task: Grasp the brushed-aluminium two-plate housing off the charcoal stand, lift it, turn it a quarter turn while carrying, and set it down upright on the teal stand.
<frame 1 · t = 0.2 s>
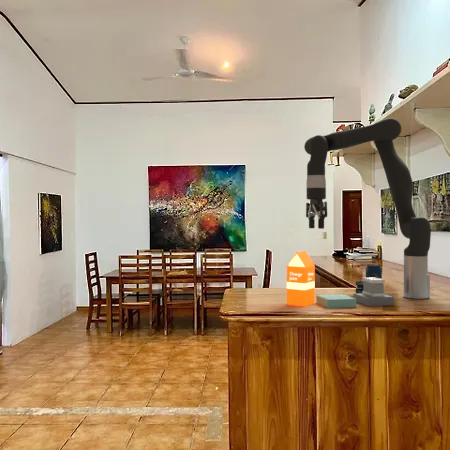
hand: (316, 228, 190), 29 cm above the countertop, fingers open, 8 cm apart
stand B: (335, 304, 182), on the countertop
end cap: (365, 297, 201), on the countertop
soda can: (373, 292, 215), on the countertop
housing: (373, 295, 186), point 3 cm above the countertop, touching stand A
orange juice: (300, 304, 184), on the countertop
stand A: (373, 302, 186), on the countertop
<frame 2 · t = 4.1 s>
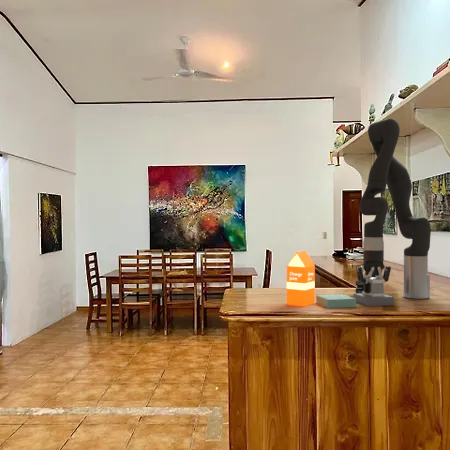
hand: (373, 292, 186), 4 cm above the countertop, fingers closed on housing, 5 cm apart
housing: (373, 295, 186), point 3 cm above the countertop, touching gripper, stand A
everything else where it was.
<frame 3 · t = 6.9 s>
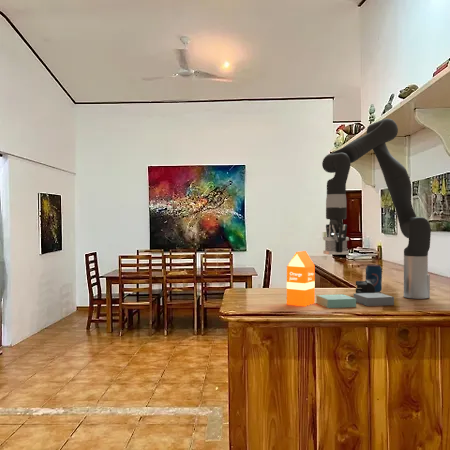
hand: (336, 251, 182), 20 cm above the countertop, fingers closed on housing, 5 cm apart
housing: (336, 254, 182), point 19 cm above the countertop, touching gripper
everything else where it was.
when the fingers open (5 cm above the countertop, at t = 9.9 s): housing stays where it is, resting on stand B.
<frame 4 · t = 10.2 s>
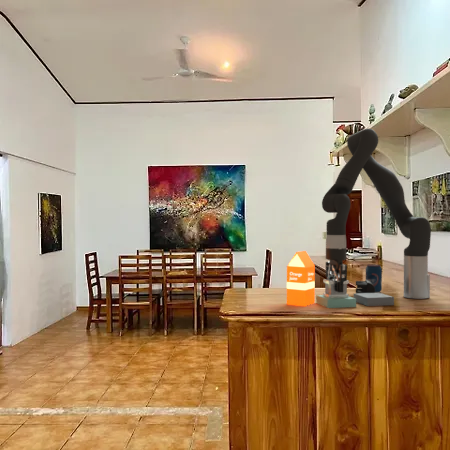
hand: (335, 290, 182), 5 cm above the countertop, fingers open, 7 cm apart
housing: (335, 296, 182), point 3 cm above the countertop, touching stand B
everything else where it was.
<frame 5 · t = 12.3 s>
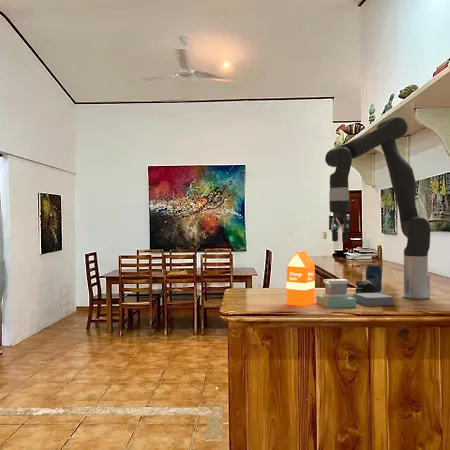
hand: (340, 241, 186), 24 cm above the countertop, fingers open, 8 cm apart
nothing on the countertop moved.
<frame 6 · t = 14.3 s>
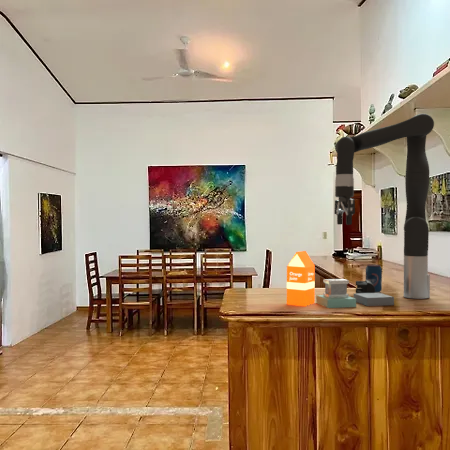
hand: (344, 224, 202), 30 cm above the countertop, fingers open, 8 cm apart
nothing on the countertop moved.
at the end: housing inside the target area on the stand B (0.1 cm from its centre), point 3.0 cm above the stand B's base; housing tilted 0°; the gripper is holding nothing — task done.
